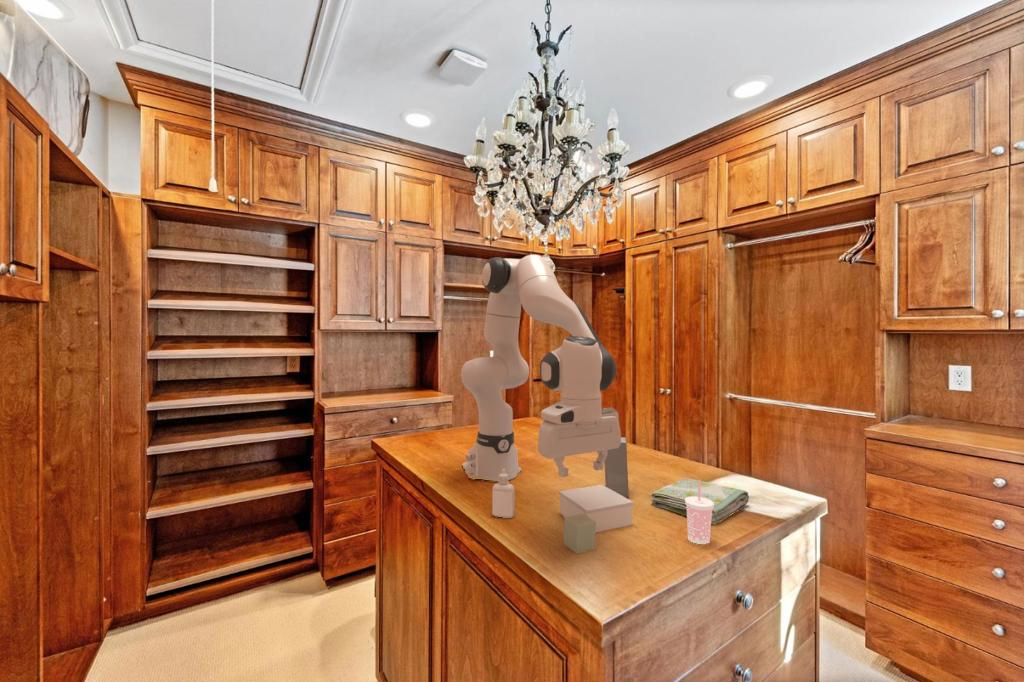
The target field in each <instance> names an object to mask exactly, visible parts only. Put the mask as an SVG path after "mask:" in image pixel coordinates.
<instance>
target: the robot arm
mask: <svg viewBox="0 0 1024 682" xmlns="http://www.w3.org/2000/svg"><path fill="white" fill-rule="evenodd" d="M481 280H482V285H483V287H484V288H485V290H486V291H487V292H489V295H488V300H487V305H486V312H485V319H484V329H483V337H484V339H485V340H486V341H487V343H489V344H490V345H491V347H492V351H493V355H492V356H481V357H476V358H472V359H471V360H467V361H465V363H463V365H462V367H461V369H460V370H461V371H460V379H461V383H462V385H463V386H464V388H465V389H466V390H468V391H469V392H470V393H471V394H472V396H473V398H474V400H475V403H476V404H477V411H478V431H477V435H476V443H475V444H474V445H473V446H472V447H471V448H470V449H469V451H468V453H466V455H465V458H466V461H464V462H463V463H461V466H462V465H463V467H464V469H465V470H466V472H467V474H468V476H469V477H472V478H481V479H486V480H494V481H493V482H499V474H501V473H502V469H505V473H506V474H508V481H510V480H514V479H515V478H517V476H518V475H519V474H520V473H521V472H522V467H520V466H519V459H518V457H519V456H518V455H519V454H518V448H517V446H516V445H515V444H514V443H515V432H514V431H513V429H514V428H513V426H514V425H513V423H514V421H513V419H514V416H513V415H514V411H513V407H512V406H511V405H510V404H509V403H507V402H506V401H505V400H504V399H503V395H502V390H509V389H515V388H517V387H519V386H521V385H524V384H525V383H526V382H527V381H528V379H529V376H530V367H529V365H528V362H527V361H526V360H525V359H524V357H523V356H522V353H521V351H520V347H519V329H520V322H521V321H520V320H521V315H522V314H521V313H522V308H523V310H524V311H525V313H526V314H527V315H528V316H529V317H531V319H532V318H533V320H536V321H539V322H541V323H545V324H550V325H553V326H556V327H558V328H562V329H564V330H565V331H567V332H568V333H569V334H570V335H571V336H567V337H565V338H564V339H563V341H562V343H561V346H559V347H558V348H556V349H555V350H552V351H548V352H547V353H546V354H545V355H544V356H543V357H542V359H541V361H540V364H539V377H540V378H539V379H540V381H541V383H542V384H543V385H544V386H545V388H548V389H549V390H551V391H554V392H555V391H557V392H560V391H561V395H560V401H558V402H556V403H554V404H552V405H550V406H548V407H546V408H544V409H542V410H541V412H540V418H541V419H542V420H543V421H542V422H541V423H540V426H539V428H538V437H537V438H538V439H537V440H538V442H537V448H538V453H539V454H540V455H541V456H542V457H543V458H545V459H549V460H551V459H553V461H554V463H555V465H556V467H557V468H558V470H557V471H558V472H557V473H558V477H561V478H564V477H568V476H569V468H568V467H566V466H565V465H564V463H563V462H565V457H570V456H576V455H582V454H583V455H584V454H589V453H597V457H596V460H593V461H592V462H593V467H592V468H593V470H595V471H597V472H598V471H603V470H604V461H605V459H606V457H607V455H608V450H610V449H616V448H619V446H620V444H621V437H622V433H621V428H620V427H621V426H620V421H619V418H620V417H619V412H618V410H616V409H615V408H614V407H610V406H608V407H607V408H606V407H602V403H603V402H602V400H603V399H602V392H604V391H606V390H607V389H609V387H610V386H611V385H613V383H614V381H615V379H616V378H617V377H616V376H617V373H618V372H617V363H616V360H615V359H614V358H613V356H612V354H611V353H610V352H609V350H607V348H606V347H605V346H604V345H603V343H602V342H601V340H600V339H599V337H598V335H597V332H596V331H595V329H594V328H593V326H592V324H591V323H590V321H589V319H588V317H587V316H586V314H585V313H584V311H583V310H582V308H581V307H580V306H579V304H577V303H576V301H573V300H572V299H571V298H570V297H569V296H568V295H566V293H565V292H564V290H563V289H562V288H561V286H560V285H559V283H558V280H557V277H556V275H555V273H554V271H553V268H552V267H551V265H550V264H549V263H548V261H547V260H546V259H545V258H544V257H543V256H541V255H539V254H528V255H525V256H524V257H522V258H510V257H509V258H507V257H505V258H503V257H501V256H500V257H498V256H497V257H492V258H489V259H487V261H485V263H484V265H483V269H482V273H481ZM464 469H463V470H464ZM520 471H521V472H520ZM517 474H518V475H517ZM468 476H467V477H468Z"/></svg>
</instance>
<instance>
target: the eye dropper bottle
mask: <svg viewBox="0 0 1024 682" xmlns="http://www.w3.org/2000/svg"><path fill="white" fill-rule="evenodd" d="M491 493H492V498H491V499H492V501H491V502H492V503H491V508H492V509H491V511H492V512H491V514H492V516H493V515H494V516H498V517H503V518H502V519H512V518H514V516H515V500H516V499H515V495H516V494H515V486H514V485H513V484H511V483H510V482H509V480H508V474H506V473H505V469H502V473H501V474H499V481H498V482H497V483H495V484H494V485H493V486H492V491H491ZM494 516H493V517H494Z"/></svg>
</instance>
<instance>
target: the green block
mask: <svg viewBox="0 0 1024 682" xmlns="http://www.w3.org/2000/svg"><path fill="white" fill-rule="evenodd" d="M596 536H597V532H596V522H595V521H594V520H592V519H590V518H589V517H587V516H585V515H584V514H578V515H573V516H569V517H563V545H564V546H566V547H567V548H569V549H570V550H571V551H572V552H574V553H575V554H581V553H586V552H590V551H591V550H596V546H597V545H596V542H597V537H596Z"/></svg>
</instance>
